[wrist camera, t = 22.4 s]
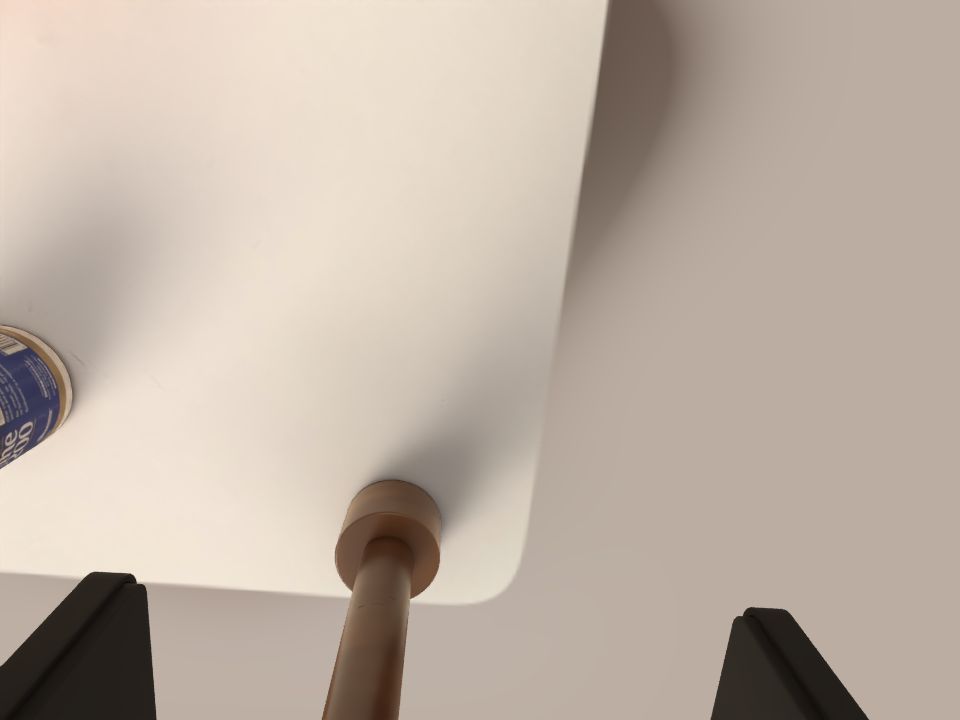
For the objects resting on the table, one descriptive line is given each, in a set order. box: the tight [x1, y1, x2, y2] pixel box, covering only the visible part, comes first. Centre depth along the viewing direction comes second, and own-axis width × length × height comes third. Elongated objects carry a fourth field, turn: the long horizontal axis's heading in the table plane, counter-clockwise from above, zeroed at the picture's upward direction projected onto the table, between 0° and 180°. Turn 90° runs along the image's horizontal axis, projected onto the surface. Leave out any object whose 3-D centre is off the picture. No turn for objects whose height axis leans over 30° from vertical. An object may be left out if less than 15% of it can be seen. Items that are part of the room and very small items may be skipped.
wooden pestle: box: [322, 480, 441, 720], centre depth 22 cm, size 4×4×16 cm
